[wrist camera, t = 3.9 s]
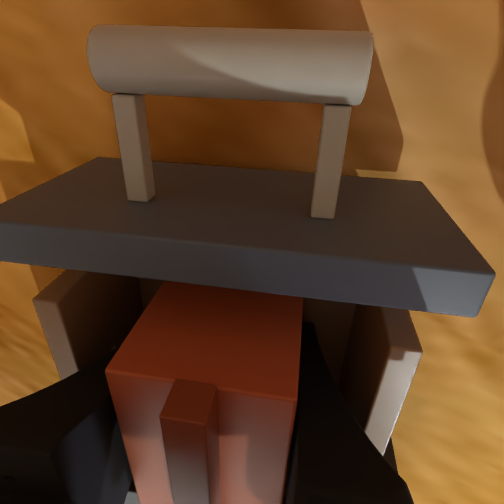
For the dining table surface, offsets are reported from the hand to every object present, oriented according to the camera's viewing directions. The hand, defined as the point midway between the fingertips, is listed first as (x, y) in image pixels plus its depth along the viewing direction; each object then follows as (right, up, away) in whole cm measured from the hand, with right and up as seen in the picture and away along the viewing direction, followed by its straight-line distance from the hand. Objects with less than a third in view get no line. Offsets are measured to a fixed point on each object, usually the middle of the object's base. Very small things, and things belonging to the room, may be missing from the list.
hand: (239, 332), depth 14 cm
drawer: (0, +3, +1) cm, 3 cm away
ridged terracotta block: (0, 0, +1) cm, 1 cm away
